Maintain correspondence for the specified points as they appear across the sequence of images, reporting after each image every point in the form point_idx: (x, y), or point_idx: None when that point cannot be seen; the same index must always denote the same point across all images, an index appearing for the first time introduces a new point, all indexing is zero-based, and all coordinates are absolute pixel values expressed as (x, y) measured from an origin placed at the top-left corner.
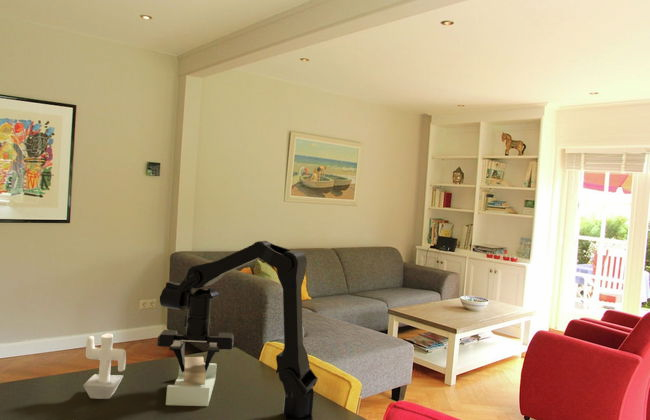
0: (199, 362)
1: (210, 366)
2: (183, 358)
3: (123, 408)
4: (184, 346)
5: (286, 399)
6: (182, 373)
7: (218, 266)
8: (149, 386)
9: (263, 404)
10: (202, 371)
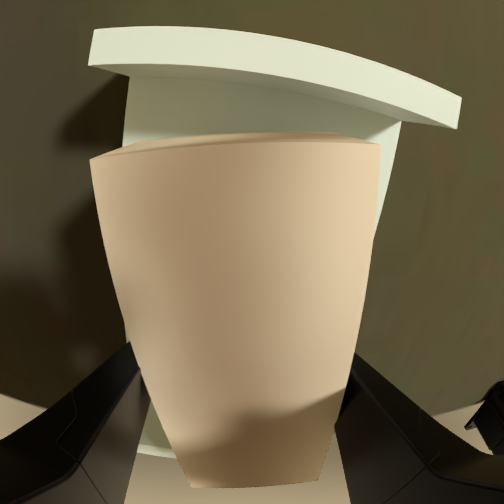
0: (304, 350)
1: (405, 110)
2: (123, 450)
3: (24, 380)
4: (48, 494)
5: (489, 448)
6: (153, 74)
7: None
8: (11, 199)
9: (475, 367)
10: (301, 472)
